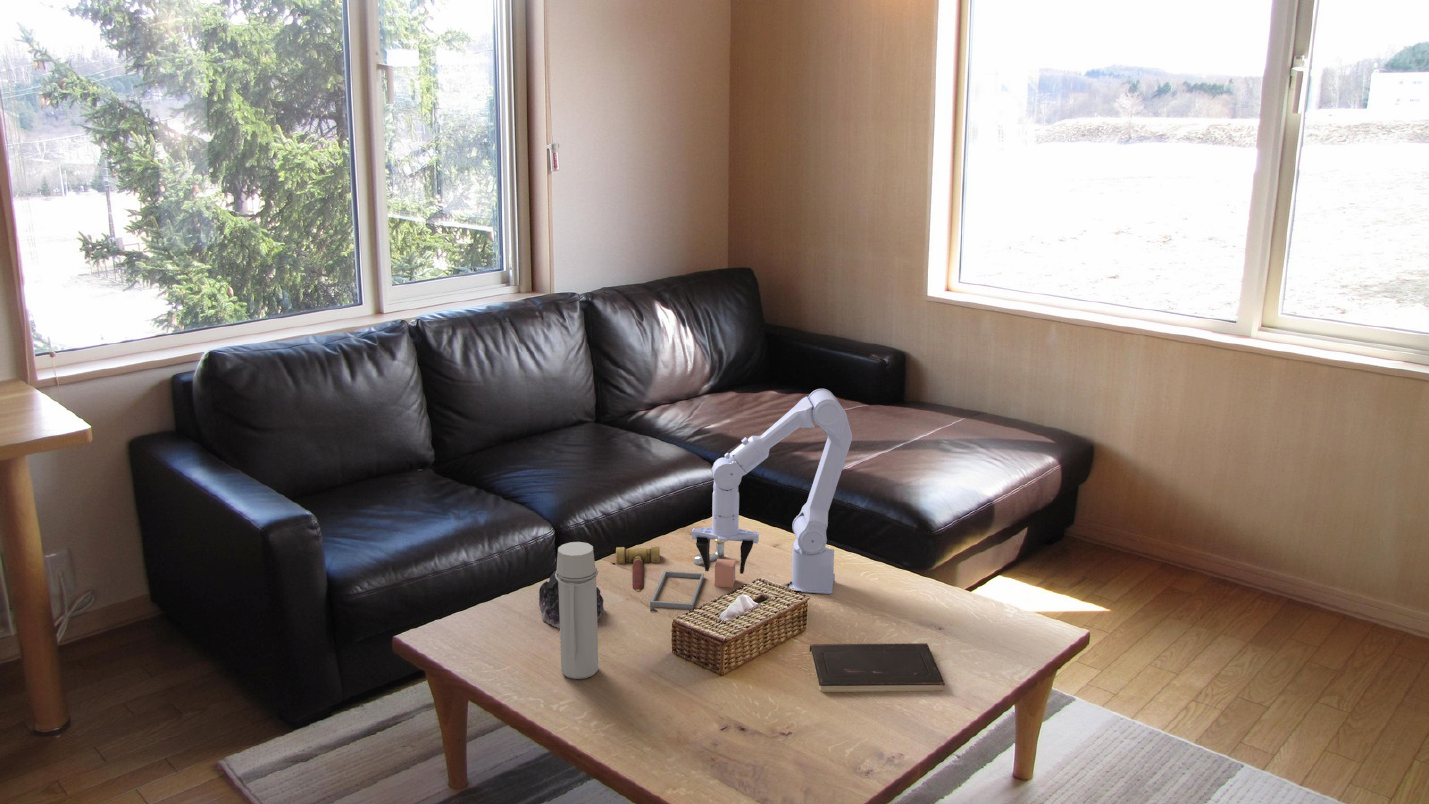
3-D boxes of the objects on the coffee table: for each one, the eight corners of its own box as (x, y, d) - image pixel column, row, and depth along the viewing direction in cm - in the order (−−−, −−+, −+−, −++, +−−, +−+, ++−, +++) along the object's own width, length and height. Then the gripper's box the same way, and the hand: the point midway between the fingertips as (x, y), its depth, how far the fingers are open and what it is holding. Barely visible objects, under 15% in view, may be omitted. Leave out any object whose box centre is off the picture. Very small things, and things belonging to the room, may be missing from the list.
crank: (699, 566, 256) (699, 547, 255) (691, 562, 258) (691, 543, 257) (728, 557, 261) (728, 539, 260) (720, 553, 263) (720, 535, 262)
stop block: (735, 584, 250) (735, 559, 248) (732, 592, 246) (733, 567, 244) (717, 583, 250) (717, 558, 248) (714, 591, 246) (714, 566, 245)
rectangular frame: (704, 582, 250) (704, 573, 250) (692, 614, 235) (692, 604, 235) (664, 580, 252) (664, 570, 251) (650, 611, 236) (650, 601, 236)
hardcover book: (944, 694, 206) (945, 683, 205) (818, 695, 205) (819, 684, 204) (925, 652, 221) (926, 641, 220) (809, 653, 220) (809, 642, 220)
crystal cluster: (605, 632, 229) (608, 585, 227) (538, 631, 227) (540, 584, 225) (601, 608, 242) (603, 564, 240) (537, 607, 240) (540, 562, 238)
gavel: (661, 586, 242) (614, 587, 241) (661, 605, 243) (615, 606, 242) (659, 542, 261) (616, 544, 261) (659, 560, 263) (616, 561, 262)
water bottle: (564, 661, 216) (560, 539, 209) (604, 663, 215) (601, 541, 208) (552, 685, 207) (547, 559, 200) (594, 687, 206) (590, 561, 199)
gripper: (689, 517, 240) (689, 575, 244) (756, 521, 238) (755, 580, 242) (694, 505, 247) (694, 562, 251) (760, 509, 245) (759, 567, 249)
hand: (724, 570), depth 247 cm, fingers open, 7 cm apart
